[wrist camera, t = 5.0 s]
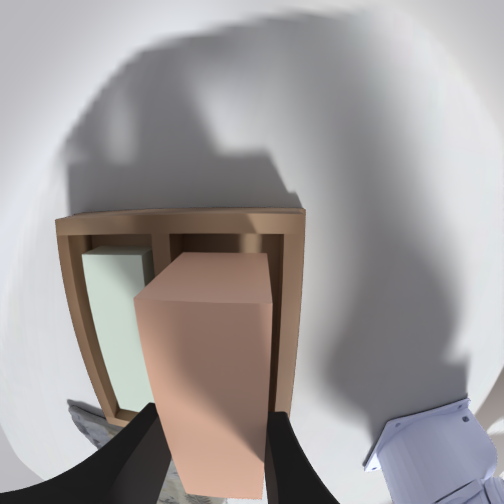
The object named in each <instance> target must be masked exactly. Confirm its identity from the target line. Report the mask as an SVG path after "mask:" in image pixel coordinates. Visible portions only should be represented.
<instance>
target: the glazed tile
mask: <svg viewBox="0 0 504 504" xmlns="http://www.w3.org/2000/svg"><path fill="white" fill-rule="evenodd" d="M82 260H83V267H84V274H85V280H86V286H87V291H88V297H89V302H90V307H91V311H92V316H93V320H94V325H95V329H96V333H97V337H98V341H99V344H100V348H101V352H102V355H103V359H104V362H105V365H106V369H107V372H108V375H109V378H110V381H111V384H112V387H113V390H114V393H115V395H116V398H117V401H118V404H119V406H120V408H122V409H126V410H131V411H136V412H140V411H141V410H142V409H143V408H144V407H145V406H146V405H147V404H148V403H149V402H152V403H155V401H154V398H153V394H152V390H151V386H150V382H149V378H148V374H147V370H146V365H145V361H144V356H143V351H142V347H141V341H140V336H139V331H138V325H137V320H136V314H135V307H134V301H133V298H134V297H135V296H136V295H137V294H138V293H139V292H140V291H142V290H143V289H144V288H145V287H146V286H147V285H148V284H149V283H150V282H151V281H152V280H153V279H154V278H155V273H154V262H153V250H152V246H99V247H97V248H95V249H93V250H90V251H88V252H86V253H84V254H82Z"/></svg>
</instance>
